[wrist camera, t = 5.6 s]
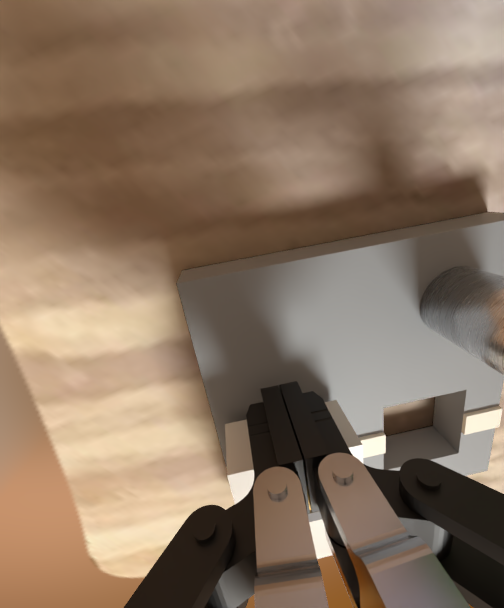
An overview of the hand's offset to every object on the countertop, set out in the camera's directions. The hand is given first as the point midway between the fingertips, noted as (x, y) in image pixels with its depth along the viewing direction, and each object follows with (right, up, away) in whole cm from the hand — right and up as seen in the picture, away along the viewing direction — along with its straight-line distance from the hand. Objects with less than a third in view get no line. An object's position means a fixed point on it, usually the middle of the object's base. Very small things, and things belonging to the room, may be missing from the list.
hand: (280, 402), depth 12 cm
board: (+4, 0, +4) cm, 5 cm away
